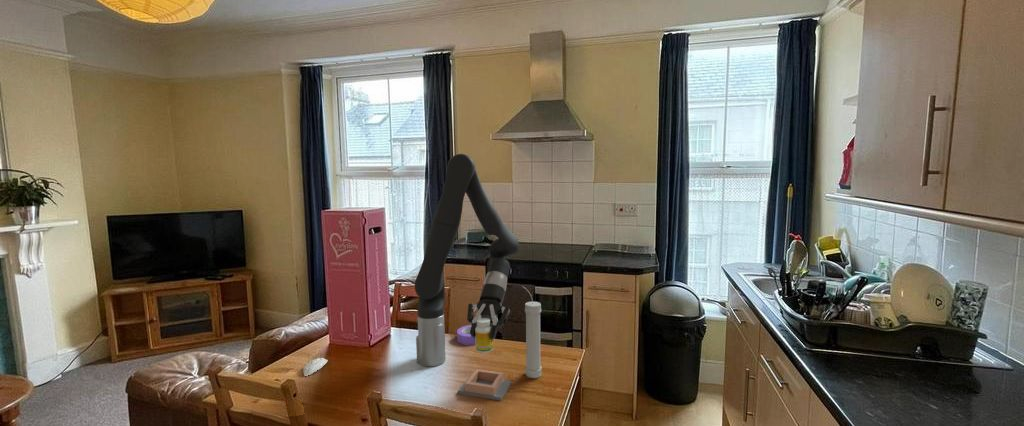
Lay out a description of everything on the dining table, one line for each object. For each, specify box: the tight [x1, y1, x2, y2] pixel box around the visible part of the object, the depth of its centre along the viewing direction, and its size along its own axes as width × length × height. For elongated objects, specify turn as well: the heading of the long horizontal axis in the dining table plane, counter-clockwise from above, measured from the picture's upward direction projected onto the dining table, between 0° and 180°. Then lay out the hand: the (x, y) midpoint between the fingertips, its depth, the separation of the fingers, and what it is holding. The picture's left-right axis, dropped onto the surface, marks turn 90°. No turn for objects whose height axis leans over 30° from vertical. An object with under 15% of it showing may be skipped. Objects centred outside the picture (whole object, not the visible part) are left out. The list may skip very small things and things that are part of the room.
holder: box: [457, 368, 512, 402], centre depth 127 cm, size 14×10×4 cm
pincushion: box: [302, 353, 328, 377], centre depth 142 cm, size 12×6×6 cm, turn 176°
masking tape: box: [456, 324, 476, 346], centre depth 165 cm, size 12×12×4 cm
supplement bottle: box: [475, 318, 494, 354], centre depth 126 cm, size 5×5×10 cm
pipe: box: [521, 285, 543, 379], centre depth 134 cm, size 6×6×30 cm
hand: (481, 337), depth 124 cm, fingers closed on supplement bottle, 5 cm apart
